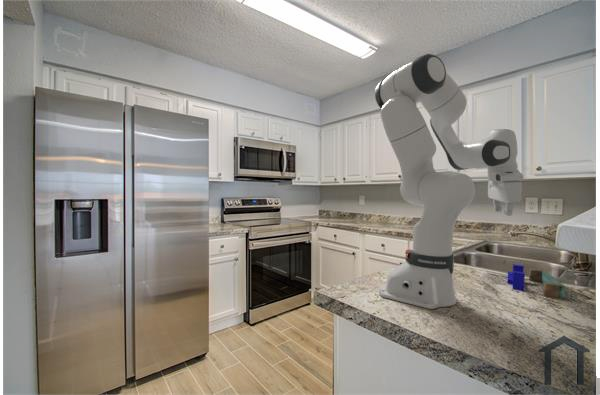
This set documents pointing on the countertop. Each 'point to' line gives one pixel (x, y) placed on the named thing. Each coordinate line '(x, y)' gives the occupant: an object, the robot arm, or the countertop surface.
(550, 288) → the rail
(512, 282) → the cable clip
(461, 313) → the countertop surface
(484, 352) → the countertop surface
